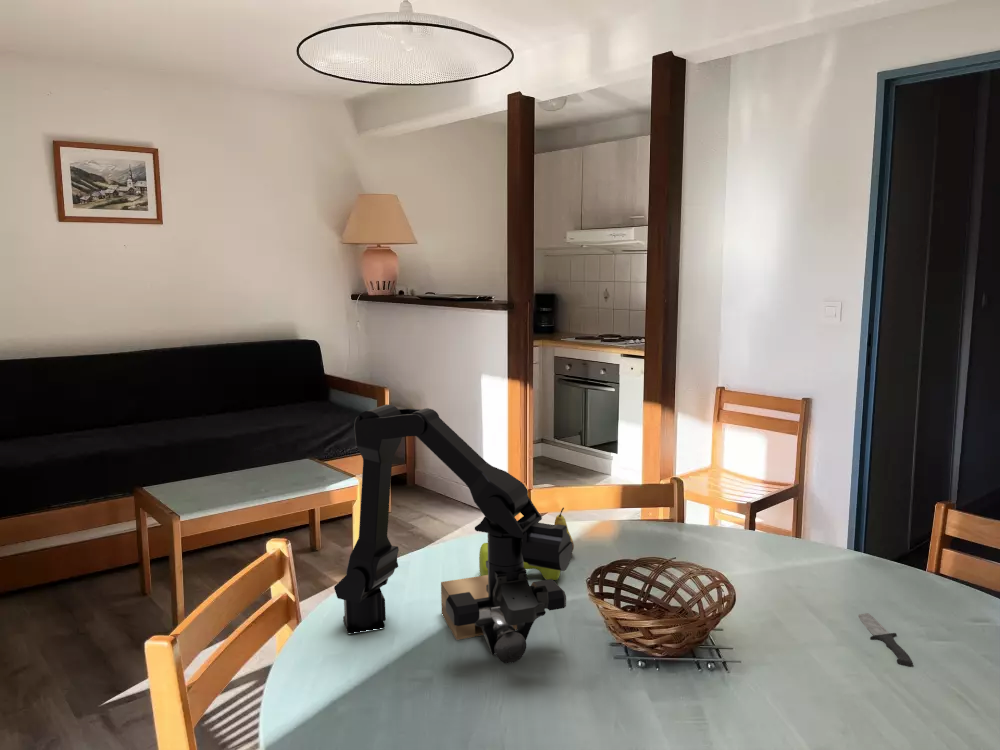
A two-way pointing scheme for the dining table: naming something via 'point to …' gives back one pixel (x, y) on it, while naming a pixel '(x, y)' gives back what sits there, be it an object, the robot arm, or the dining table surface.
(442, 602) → the housing
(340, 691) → the dining table surface
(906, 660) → the knife
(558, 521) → the fruit
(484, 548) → the dumbbell
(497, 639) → the dark grey metal cylinder
